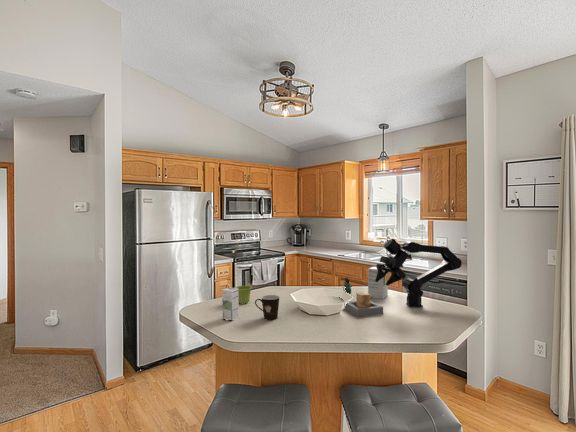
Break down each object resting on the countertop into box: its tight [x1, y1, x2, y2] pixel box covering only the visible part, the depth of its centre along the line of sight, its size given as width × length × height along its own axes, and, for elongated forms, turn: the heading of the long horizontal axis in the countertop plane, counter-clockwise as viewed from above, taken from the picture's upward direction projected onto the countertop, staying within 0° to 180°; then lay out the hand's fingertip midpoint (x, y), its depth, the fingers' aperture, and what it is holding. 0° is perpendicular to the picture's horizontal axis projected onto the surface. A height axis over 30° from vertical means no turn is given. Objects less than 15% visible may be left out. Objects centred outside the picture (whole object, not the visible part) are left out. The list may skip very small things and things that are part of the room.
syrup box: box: [221, 287, 240, 321], centre depth 154 cm, size 6×6×14 cm
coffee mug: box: [254, 294, 280, 321], centre depth 156 cm, size 12×9×10 cm
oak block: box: [355, 291, 371, 308], centre depth 164 cm, size 5×5×9 cm
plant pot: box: [234, 285, 253, 304], centre depth 182 cm, size 9×9×9 cm
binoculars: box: [343, 277, 353, 295], centre depth 193 cm, size 9×11×10 cm
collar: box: [344, 300, 384, 318], centre depth 164 cm, size 14×14×4 cm
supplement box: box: [367, 266, 389, 300], centre depth 192 cm, size 10×9×17 cm
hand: (380, 283), depth 168 cm, fingers open, 9 cm apart
